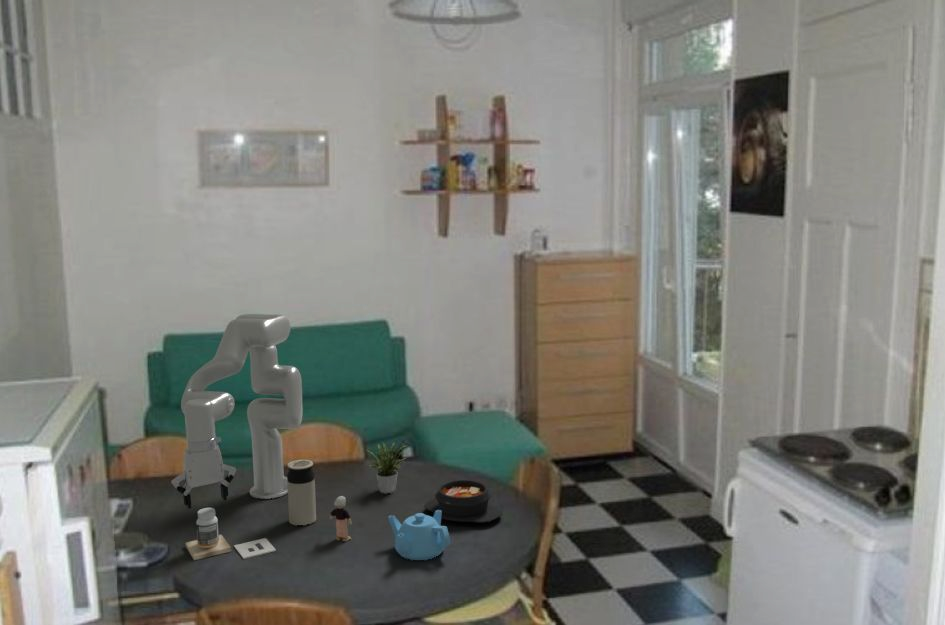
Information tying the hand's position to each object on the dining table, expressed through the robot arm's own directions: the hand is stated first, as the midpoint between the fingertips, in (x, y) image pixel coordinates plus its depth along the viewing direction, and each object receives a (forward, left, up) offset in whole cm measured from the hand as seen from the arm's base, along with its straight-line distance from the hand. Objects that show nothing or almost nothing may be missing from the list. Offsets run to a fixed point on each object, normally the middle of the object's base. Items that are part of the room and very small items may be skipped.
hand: (206, 502), depth 231 cm
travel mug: (-28, -3, -13) cm, 32 cm away
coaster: (+1, +1, -13) cm, 13 cm away
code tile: (-10, +8, -13) cm, 19 cm away
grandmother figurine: (-33, +15, -13) cm, 39 cm away
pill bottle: (0, 0, -12) cm, 12 cm away
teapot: (-48, +34, -14) cm, 61 cm away
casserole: (-71, +19, -14) cm, 75 cm away
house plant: (-61, -10, -13) cm, 64 cm away
